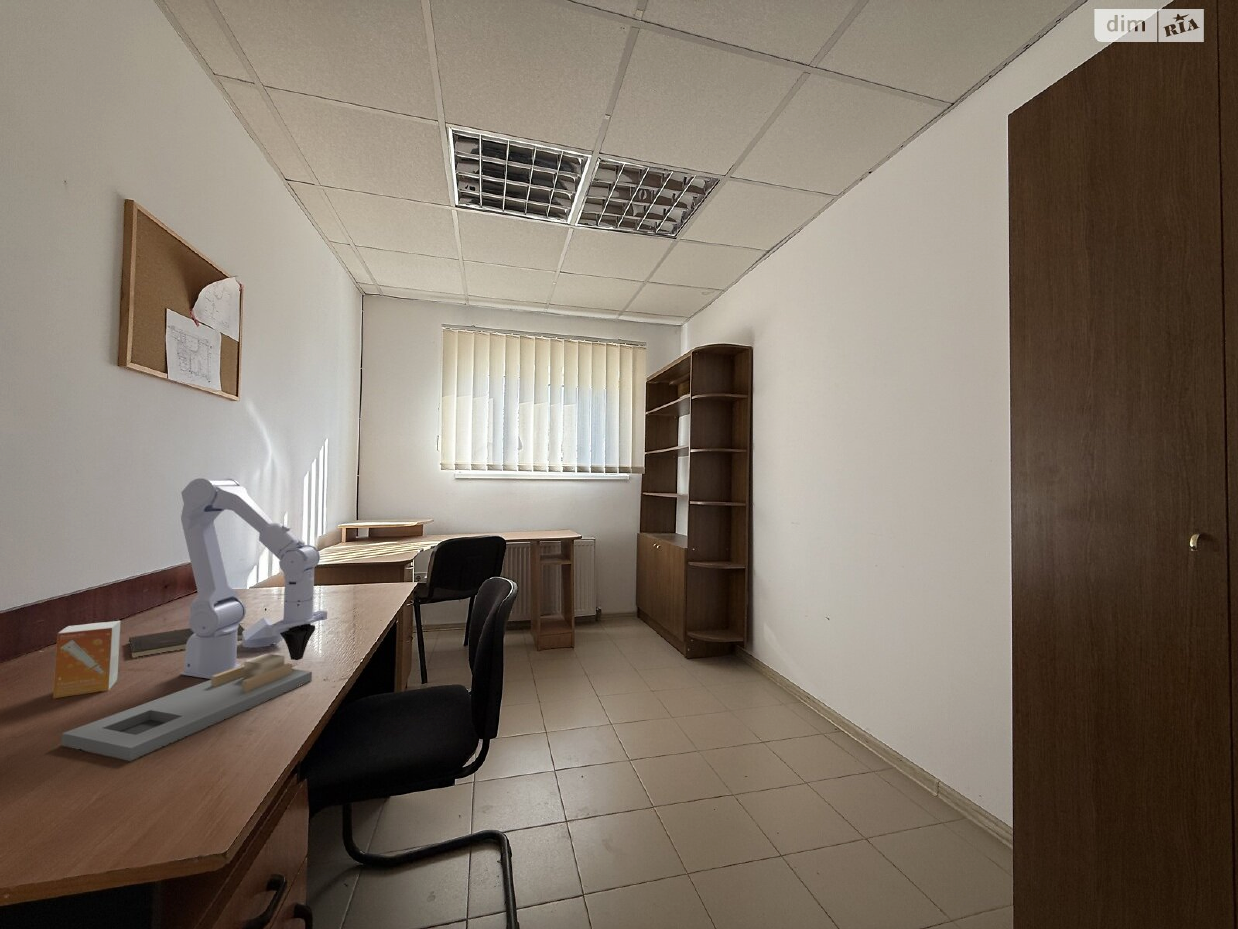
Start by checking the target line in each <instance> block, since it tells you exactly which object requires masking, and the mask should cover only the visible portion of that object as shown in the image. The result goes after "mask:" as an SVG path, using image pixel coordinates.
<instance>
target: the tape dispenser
mask: <svg viewBox="0 0 1238 929" xmlns="http://www.w3.org/2000/svg"><path fill="white" fill-rule="evenodd" d="M274 623H275V622H274V621H273V620H270V619H268V618H267V617H264V616H263V617H262V618H260V619H259V620H257V621H256V622H255V623H254V624H252V625H251V626H250V627H248V628H246V629H245V630H244V631H243V632H242V639H241V646H242V647H243V648H247V647H255V648H263V646H264V647H269V646H272V645H271V644H273V645H275V644H274V643H277V644H279V643H281V642H282V641H283V640H284V639H283V637H282V636H281V634H280V633H278V634H276V635H275V636H265V627H267V626H270V625H272V624H274ZM280 641H281V642H280ZM268 645H269V646H268Z"/></svg>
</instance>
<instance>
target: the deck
mask: <svg viewBox="0 0 1238 929" xmlns="http://www.w3.org/2000/svg"><path fill="white" fill-rule="evenodd" d="M312 673H313V672H312V671H311V670H310V671H309V670H303V669H296V668H295V669H294V668H293V663H284V665H282V666H280V667H277V668H274V669H272V670H269V671H267V672H264V673H261V674H259V675H256V676H254V677H251V678H248V679H247V678H244V665H241V666H239V667H236V668H233V669H230V670H227V671H224V672H222V673H219V674H216V675H213V676H212V678H211V679H208V680H207V681H203V682H201V683H198V684H196V685H193V686H190V687H186V688H184V689H182V690H179V691H176V692H173V693H171V694H168V695H165V696H162V697H159V698H156V699H153V700H151V701H149V702H145V703H143V704H140V705H137V706H135V707H134V706H133V707H131V708H129V709H126V710H123V711H120V712H117V713H115V714H111V715H109V716H107V717H103V718H101V719H98V720H95V721H92V722H89V723H87V724H84V725H82V726H79V727H76V728H73V729H70V730H67V731H65V732H62V733H61V745H62V746H61V747H65V746H68V747H67V748H70V747H71V748H70V749H74V748H75V749H74V750H79V749H82V750H81V751H83V750H84V751H83V752H88V753H93V754H96V753H98V755H101V754H102V756H106V757H110V756H111V757H110V758H114V757H115V759H119V760H123V761H128V762H131V761H134V760H136V759H139V758H141V757H143V756H145V754H146V755H148V754H149V753H150V754H151V753H152V752H155V751H157V750H159V749H161V748H163V747H162V746H164V747H166V746H168V745H170V744H172V743H175V742H177V741H179V740H182V739H184V738H185V736H186V737H188V736H191V735H193V734H195V733H198V732H200V731H202V730H204V729H206V728H208V726H209V727H210V726H213V725H216V724H218V723H220V722H222V721H224V719H225V720H226V719H228V718H231V717H234V716H235V715H238V714H240V713H242V712H244V711H247V710H249V709H251V708H254V707H256V706H258V705H260V703H261V704H263V703H265V702H267V701H269V699H270V700H272V699H274V698H275V697H279V696H280V695H283V694H284V692H285V693H287V692H286V691H288V692H289V690H290V691H292V690H294V689H297V688H298V686H299V685H301V684H303V685H305V683H306V684H308V683H309V682H308V681H310V682H312V681H313V680H312V679H313V678H312V677H313V674H312ZM307 682H308V683H307ZM301 686H302V685H301ZM296 687H297V688H296ZM299 687H300V686H299ZM293 688H294V689H293ZM291 689H292V690H291ZM278 695H279V696H278ZM271 698H272V699H271ZM262 702H263V703H262ZM217 722H218V723H217ZM178 739H179V740H178ZM169 743H170V744H169ZM156 749H157V750H156ZM154 750H155V751H154ZM140 756H141V757H140Z"/></svg>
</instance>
